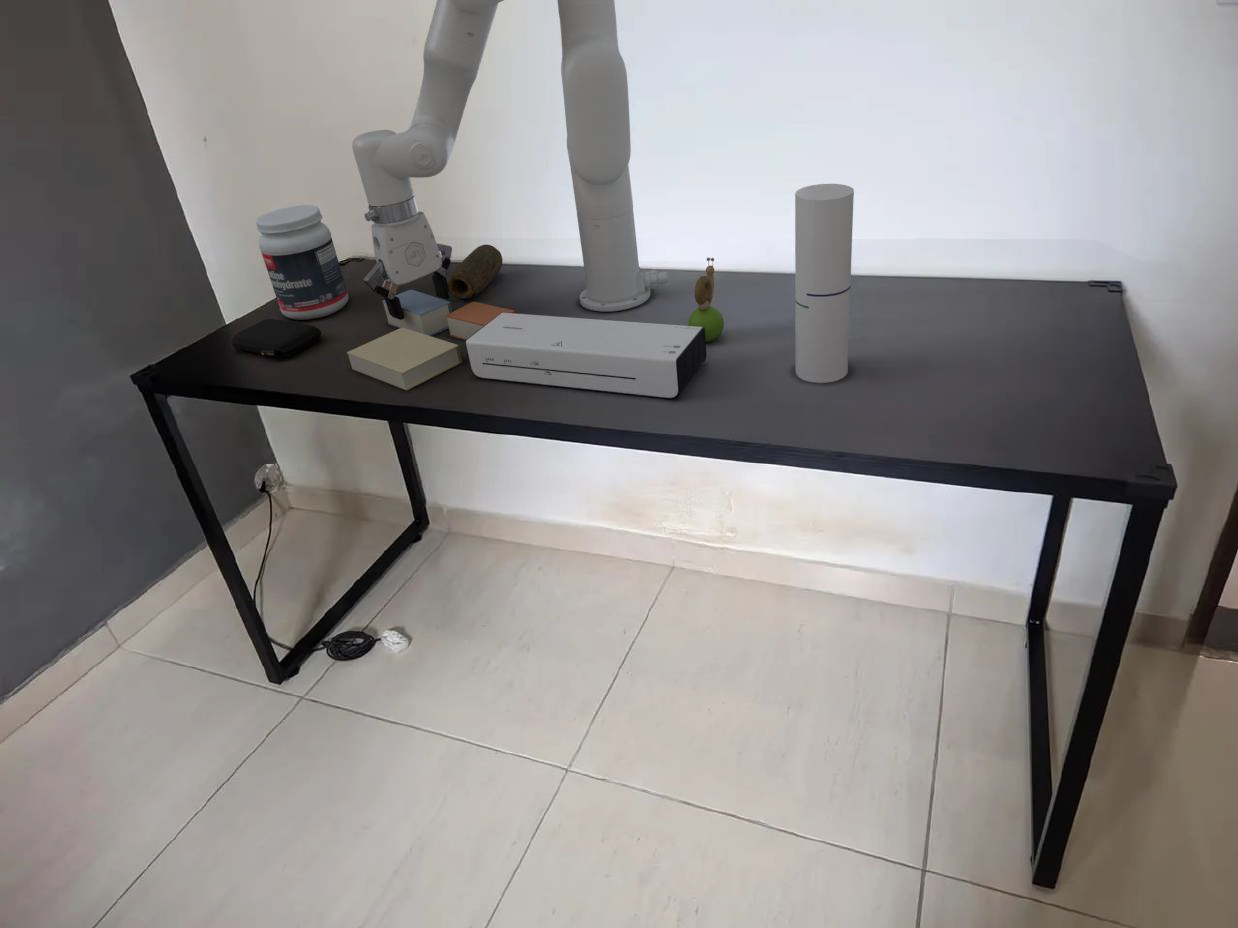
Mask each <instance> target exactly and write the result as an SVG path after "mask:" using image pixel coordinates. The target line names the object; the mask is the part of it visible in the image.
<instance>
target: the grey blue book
mask: <svg viewBox="0 0 1238 928" xmlns="http://www.w3.org/2000/svg"><path fill="white" fill-rule="evenodd" d="M395 296H396V297H398V298H399V300H400V304H401V307H402V310H403V314H404V319H402V320H399V319H396V318H393V317H392V316H391V315H390V314H389V311H388V308H387V305H386V301H385V299H383V300H382V301H381V302H382V304H383V308H384V311H385V314H386V319H387V324H388V325H390V326H392V327H394V328H398V329H399V328H402V327H403V328H406V329H409V330H412V331H415V332H419V333H422V334H425V335H428V336H431V337H433V336H435V335H436V334H440V333H442V332H444V331H446V330H449V326H448V321H447V317H446V316H445V315H447V314H449V313H451V312H453V310H452V305H451V302H450V301H449V300H447V299H443V298H439V297H437V296H433V295H431V294H427V293H425V292H420V291H418V290H414V289H408V290H406V291H403V292H400V293H398V294H397V295H396V294H395Z"/></svg>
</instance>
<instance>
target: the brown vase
mask: <svg viewBox="0 0 1238 928" xmlns="http://www.w3.org/2000/svg"><path fill="white" fill-rule="evenodd" d="M502 266H503V256H502V253H501V251H500V250H499V249H497V247H495V246H494V245H491V244H482V245H479V246H477V247H476V248H475V249H473V250H472V252H470V253H469V254H467V256H465V258H464V259H463V260H461V262H460V263H459V264H458V265H457V266H456V267H455V269H454V270H453V271H452V273H451V274H450V275H449V277H448V279H446V280H447V284H448V288H449V295H452V297H454V298H456V299H463V300H464V299H470V298H474V297H476V296H478V295H479V294H480V293H481V292H482V291H483V290H484V289H485V288H487V287H488V285H489V284H490V283H491V282H492V281H493V280H494V279H495V278H496V277H497V275H498V274H499V273H500V271H501V269H502Z"/></svg>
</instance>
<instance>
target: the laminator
mask: <svg viewBox="0 0 1238 928" xmlns="http://www.w3.org/2000/svg"><path fill="white" fill-rule="evenodd" d="M464 345H465V350H466V354H467V359H468V360H467V361H468V365H469V368H470V371H471V373H472V375H474V377H475V378H478V379H480V380H485V381H486V380H489V381H496V382H506V383H515V384H523V385H533V386H542V387H553V388H562V389H568V390H569V389H570V390H578V391H579V390H580V391H589V392H598V393H606V394H607V393H608V394H615V395H625V396H635V397H642V398H643V397H645V398H652V399H653V398H654V399H663V400H674V399H677V398H679V396H680V393H681V392H682V390H683V389H684V388H685V386H686V385H687V384H688V383H689V381H690V380H691V378H692V377H693V376H694V375H695V373H696V372H697V370H698V369H699V368H700V367H701V366H702V364H704V363H705V361H706V359H707V342H706V339H705V328H704V327H695V326H688V325H680V324H665V323H654V322H653V323H652V322H651V323H650V322H638V321H625V320H610V319H598V318H597V319H596V318H585V317H584V318H583V317H570V316H569V317H568V316H556V315H555V316H554V315H539V314H528V313H515V314H514V313H500V314H499V315H498V316H496V317H495V318H494V319H492V320H491V321H490V322H488V323H487V324H486V325H485V326H483V327H482V328H481V329H479V330H478V331H477V332H476V333H474V334H473V335H472V336H470V337H469V338H468V339H466V340H464Z"/></svg>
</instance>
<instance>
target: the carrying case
mask: <svg viewBox="0 0 1238 928" xmlns="http://www.w3.org/2000/svg"><path fill="white" fill-rule="evenodd" d="M321 336H322V331H321V329H320V328H318V327H316V326H315V325H312V324H310V323H309V324H307V323H303V322H302V323H301V322H295V321H288V320H282V319H275V318H265V319H262V320H260V321H258V322H256V323H255V324H252V325H250V326H248V327H246V328H244V329H242V330H240V331H238V332H236V333H235V334H234V335H233V337H232V339H231V345H232V346H233V348H234V349H236V350H241V351H243V352H248V353H254V354H259V355H261V356H262V357H278V358H289V357H292V356H294V355H295V354H297V353H299V352H301V351H302V350H305V349H306V348H308V347H310V346H312V345H313V344H315V343H316V342H318V341H319V340H320V337H321Z"/></svg>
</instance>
